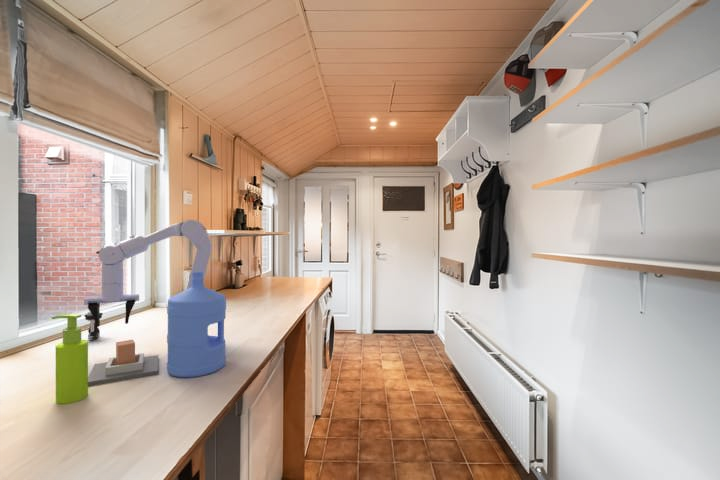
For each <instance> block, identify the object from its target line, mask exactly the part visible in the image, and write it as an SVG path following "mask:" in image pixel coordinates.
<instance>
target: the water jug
mask: <svg viewBox="0 0 720 480" xmlns="http://www.w3.org/2000/svg"><path fill="white" fill-rule="evenodd" d="M203 274H204V273H203V272H196V273H192V286H191V287H190V288H189V289H187V288H186V289H185V290H183V291H181V292H178V293H177V294H175V295H173V296H171V297H169V298H168V300H167V307H166V310H167V313H166V314H167V335H166V343H167V362H166V370H167V373H169V375H171V376H173V377H177V378H196V377H201V376H206V375H210V374H212V373H215V372H217V371H219V370H220V369H222V368H223V367H224V366H225V364H226V362H227V360H226V358H227V355H226V339H225V319H226V317H227V316H226V314H227V313H226V310H227V300H226V295H225V294H223V293H221V292H218V291H215V290H213V289H211V288H208V287H206V286H205V285H204V281H203V280H205V277H204V278H203ZM213 324H217V336H216V335H209V333H208V332H209V329H208V328H209V326H210V325H213Z"/></svg>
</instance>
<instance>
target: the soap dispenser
mask: <svg viewBox="0 0 720 480" xmlns="http://www.w3.org/2000/svg"><path fill="white" fill-rule="evenodd" d="M81 317H82V314H81V313H62V314H59V315H55V316H52V317H51V319H52V320H56V319H67V327H66V328H64V329H62V342H60V343H57V344H55V403H56V404H58V405H67V404H72V403H75V402H79V401H82V400H83V399H85V398H87V397H88V395H89V386H88V376H89V340H87V339H82V327H81V326H78V325H77V324H78V323H77V322H78V321H77V320H78V318H81Z"/></svg>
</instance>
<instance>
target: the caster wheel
mask: <svg viewBox="0 0 720 480" xmlns="http://www.w3.org/2000/svg"><path fill="white" fill-rule="evenodd" d="M83 317H85V320H86V321H88V322H89V323H90V325H89V328H88V331H87V333H88V334H87V335H88V336H87V338H88V341H95V340H96V339H97V338H98V339H99V337H100V332H101V331H100V328H99V327H96V323H95V320H94V318H93V315H92V314H91V312H90V310H88V311H87V313H86V314H84V315H83ZM99 318H100V319H102V318H103V312H100V310H99Z"/></svg>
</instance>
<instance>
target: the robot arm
mask: <svg viewBox="0 0 720 480" xmlns="http://www.w3.org/2000/svg"><path fill="white" fill-rule="evenodd" d="M171 237H185V238H187V240H189V241H191V243H192V244H193V245H194V246H195V248H196V252H195V256H194V260H193V264H192V267H191V271H190V275H189V280H188V283H187V286H186V290H187V289H189V288H190V287H191V286H192V273H196V272H203V273H204V274H203V278H204V280H205V277H206V272H207V270H208V265H209V261H210V258H211V254H212V250H213V243H212V240H211V238H210V235H209V233H208V230H207V227H205V226H204V225H203V224H202V223H201V221H198V220H195V219H187V220H185V221H180V222H177V223H174V224H171V225H168V226H166V227H164V228H162V229H161V228H160V229H159V230H158V231H154V232H152V233H150V234H148V235H146V236H142V235H139V234H138V235H136V236H135V234H133V235H130V236H129V238H128V239H125V240H123V241H120V242H119V241H116V242H114V243H113V244H114V245H109V246H105V247H103V248H102V249H101V250H100V251H99V253H98V258H99V261H100V262H101V295H100V296H91V297H84V298H83V305H84V306H86V305H87V309H88V311H90V312H91V314H92V315H93V318H94V320H95V323H96V327H98V328H99V327H100V324H101V322H100V321H101V318H99V311H100V306H101V304H108V303H110V304H111V303H121V302H125V318H124V319H125V320H124V322H125V323H124V324H126V325H127V324H129V320H130V316H131V315H130V314H131V312H132V309H133V308H134V305H135V304H136V302H139V301H140V293H139V294H137V293H136V294H124V261H125V260H126V259H127V260H128V259H129V258H132V257H135V256H136V255H139V254H143V253H144V252H146V251H148V250H149V247H150V245H153V244H156V243H158V242H160V241H161V242H162V241H163V240H166V239H168V238H171ZM204 280H203V282H204Z"/></svg>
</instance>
